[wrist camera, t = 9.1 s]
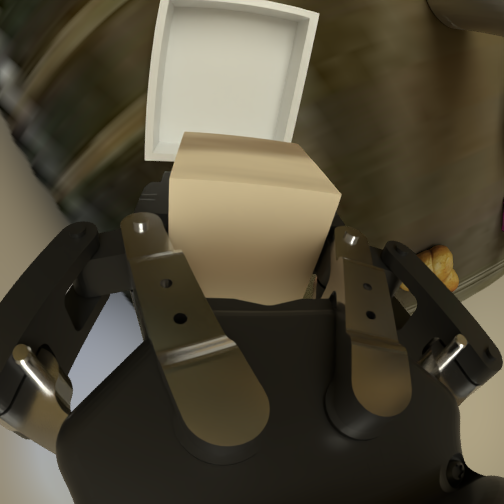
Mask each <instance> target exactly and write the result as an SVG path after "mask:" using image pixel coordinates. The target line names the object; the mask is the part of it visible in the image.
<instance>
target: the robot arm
mask: <svg viewBox="0 0 504 504" xmlns="http://www.w3.org/2000/svg"><path fill="white" fill-rule="evenodd" d="M427 2H428V4H429V6H430V8H431V10H432V11H433V13H434V14H435V16H436V17H437V18H438V19H439V20H440V21H441V22H442V23H443V24H445V25H446V26H448V27H450V28H453V29H461V30H469V31H476V32H482V33H488V34H493V35H498V36H502V37H504V0H427ZM170 175H171V172H167V171H165V172H164V174H163V177H162V180H161V182H151V183H149V184H148V185H147V186H145V187H144V189H143V192H142V195H141V196H140V200H139V201H138V204H137V206H136V209H135V211H134V213H133V214H131V215H128V216H127V217H125V218H124V219H123V220H122V222H121V228H120V229H117V230H114V231H109V232H104V233H98V230H97V227H96V225H94V224H93V223H90V222H76V223H73V224H71V225H69V226H67V227H65V228H64V229H63V230H62V231H61V232H60V233H59V234H58V235H57V236H56V237H55V238H54V239H53V240H52V241H51V242H50V243H49V245H48V246H47V247H46V248H45V249H44V250H43V251H42V252H41V253H40V254H39V256H38V257H37V258H36V259H35V260H34V261H33V262H32V264H31V265H30V266H29V267H28V268H27V269H26V271H25V272H24V273H23V274H22V275H21V276H20V278H19V279H18V280H17V281H16V283H15V284H14V285H13V287H12V288H11V289H10V290H9V292H8V293H7V294H6V296H5V297H4V298H3V300H2V301H1V302H0V424H1V425H2V426H3V427H5V428H6V429H8V430H11V431H13V432H14V433H16V434H18V435H19V436H21V437H22V438H25V439H31V440H33V441H34V442H36V443H38V444H39V445H41V446H42V447H44V448H46V449H47V450H49V451H51V452H53V453H54V454H56V458H57V463H58V467H59V469H60V472H61V474H62V476H63V478H64V481H65V482H66V485H67V487H68V489H69V491H70V494H71V496H72V498H73V501H74V504H504V478H502V477H498V476H483V475H480V474H478V473H476V472H474V471H472V470H471V469H470V468H468V466H467V465H466V464H465V461H464V458H463V455H462V450H461V441H460V412H459V408H458V406H459V405H460V404H461V403H462V402H463V401H464V400H465V399H466V398H467V397H468V396H470V395H471V394H472V393H474V392H475V391H476V390H477V389H478V388H480V387H481V386H482V385H483V384H484V383H485V382H487V381H488V380H489V379H490V378H491V377H492V376H494V375H495V374H496V373H497V372H498V371H499V370H500V369H501V368H502V364H503V361H502V356H501V354H500V352H499V350H498V348H497V347H496V345H495V344H494V343H493V341H492V340H491V339H490V337H489V336H488V335H487V334H486V332H485V331H484V330H483V329H482V328H481V326H480V325H479V324H478V322H477V321H476V320H475V319H474V317H473V316H472V315H471V314H470V313H469V312H468V310H467V309H466V308H465V307H464V306H463V305H462V303H461V302H460V301H459V300H458V299H457V298H456V297H455V295H454V294H453V293H452V292H451V291H450V290H449V289H448V288H447V287H446V285H445V284H444V283H443V282H442V281H441V280H440V279H439V278H438V277H437V276H436V275H435V274H434V273H433V272H432V271H431V270H430V269H429V267H428V266H427V265H426V264H425V263H424V262H423V261H422V260H421V259H420V258H419V257H418V256H417V255H416V254H415V253H414V252H413V251H412V250H411V249H409V248H408V247H407V246H405V245H404V244H402V243H400V242H397V241H388V242H387V243H386V245H385V247H384V249H383V250H381V249H378V248H375V247H371V246H369V243H368V240H367V238H366V237H365V235H364V234H362V233H361V232H360V231H358V230H356V229H354V228H351V227H348V226H345V224H344V223H343V221H342V220H341V218H340V217H339V216H338V215H337V213H336V212H335V215H334V218H333V221H332V223H331V226H330V229H329V232H328V234H327V237H326V240H325V242H324V245H323V248H322V250H321V253H320V256H319V258H318V261H317V263H316V266H315V269H314V271H313V274H316V275H317V276H316V279H315V281H314V284H313V294H312V299H298V300H293V301H289V302H285V303H280V304H276V305H262V304H258V303H253V302H248V301H243V300H238V299H234V298H206V297H205V295H204V293H203V292H202V290H201V288H200V286H199V284H198V282H197V280H196V278H195V276H194V274H193V272H192V270H191V268H190V265H189V263H188V261H187V259H186V257H185V255H184V253H183V251H182V250H181V249H178V250H174V249H173V246H172V244H171V242H170V239H169V178H170ZM72 283H73V285H72ZM402 283H403V284H404V285H405V286H406V287H407V288H408V289H409V291H410V292H411V293H412V294H413V295H414V296H415V298H416V300H417V308H416V310H415V312H414V313H413V314H412V316H410V315H409V313H408V312H407V311H406V310H405V309H404V307H403V306H402V305H401V304H400V302H399V301H398V300H397V299H396V298H395V297H394V295H395V294H396V292H397V290H398V289H399V287H400V286H401V284H402ZM71 285H72V286H71ZM70 286H71V288H70V289H69V287H70ZM68 289H69V291H68V292H67V290H68ZM127 290H130V292H131V296H132V300H133V303H134V307H135V311H136V315H137V318H138V322H139V326H140V329H141V333H142V337H143V340H144V342H143V343H142V344H141V345H139V346H138V347H137V348H136V349H135V350H134V351H133V352H132V353H131V354H130V355H129V356H128V357H127V358H126V359H125V360H124V361H123V362H122V363H121V364H120V365H119V366H118V367H117V368H116V369H115V370H114V371H113V372H112V373H111V374H110V375H109V376H108V377H107V378H105V379H104V381H102V383H101V384H99V385H98V386H97V387H96V388H95V389H94V390H93V391H92V392H91V393H90V394H89V395H88V396H87V397H86V398H85V399H84V400H83V401H82V402H81V403H80V404H79V405H78V406H77V407H76V408H75V409H74V410H73V411H72V412H71V410H70V402H71V398H72V394H73V388H72V383H71V380H70V378H69V377H68V373H69V371H70V369H71V367H72V365H73V363H74V361H75V359H76V357H77V355H78V353H79V351H80V349H81V347H82V345H83V344H84V342H85V340H86V338H87V336H88V334H89V332H90V330H91V329H92V326H93V325H94V323H95V321H96V319H97V318H98V316H99V314H100V312H101V310H102V309H103V307H104V305H105V304H106V302H107V300H108V299H109V296H110V294H111V293H117V292H122V291H127ZM66 292H67V294H66Z"/></svg>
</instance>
